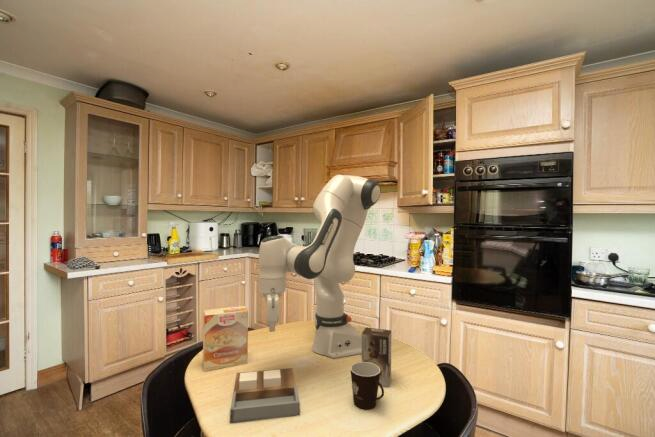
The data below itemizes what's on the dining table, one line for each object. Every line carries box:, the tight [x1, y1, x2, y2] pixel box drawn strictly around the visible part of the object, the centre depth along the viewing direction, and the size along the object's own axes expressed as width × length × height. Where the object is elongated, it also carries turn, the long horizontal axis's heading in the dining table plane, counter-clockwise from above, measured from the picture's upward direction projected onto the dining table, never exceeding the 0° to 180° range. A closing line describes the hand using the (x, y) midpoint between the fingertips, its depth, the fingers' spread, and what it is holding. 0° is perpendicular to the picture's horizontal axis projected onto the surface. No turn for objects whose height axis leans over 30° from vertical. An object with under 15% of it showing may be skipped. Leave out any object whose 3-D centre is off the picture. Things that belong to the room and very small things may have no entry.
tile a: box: [264, 369, 281, 388], centre depth 96 cm, size 5×5×2 cm
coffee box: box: [360, 327, 392, 388], centre depth 104 cm, size 9×6×16 cm
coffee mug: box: [349, 361, 385, 411], centre depth 89 cm, size 12×9×10 cm
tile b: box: [239, 371, 257, 390], centre depth 94 cm, size 5×5×2 cm
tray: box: [229, 385, 301, 424], centre depth 87 cm, size 18×8×4 cm, turn 102°
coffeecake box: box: [202, 305, 249, 372], centre depth 114 cm, size 15×7×20 cm, turn 115°
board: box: [233, 367, 297, 401], centre depth 97 cm, size 18×12×3 cm, turn 102°
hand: (271, 327), depth 103 cm, fingers open, 5 cm apart
